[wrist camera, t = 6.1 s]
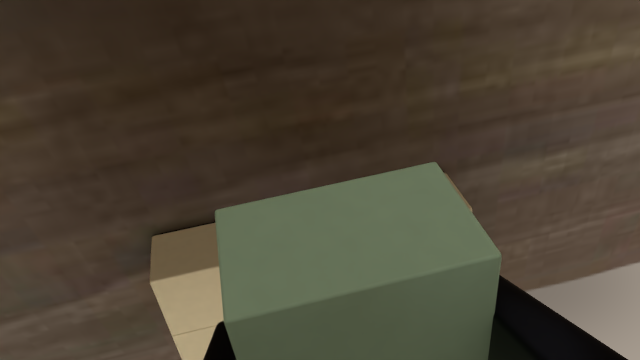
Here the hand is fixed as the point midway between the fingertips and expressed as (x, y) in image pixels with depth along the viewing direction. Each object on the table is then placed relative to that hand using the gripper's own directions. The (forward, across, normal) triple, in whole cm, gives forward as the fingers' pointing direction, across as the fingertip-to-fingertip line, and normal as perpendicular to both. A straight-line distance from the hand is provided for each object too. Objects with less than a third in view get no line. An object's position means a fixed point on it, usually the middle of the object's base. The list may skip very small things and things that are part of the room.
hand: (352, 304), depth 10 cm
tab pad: (+1, 0, +1) cm, 2 cm away
